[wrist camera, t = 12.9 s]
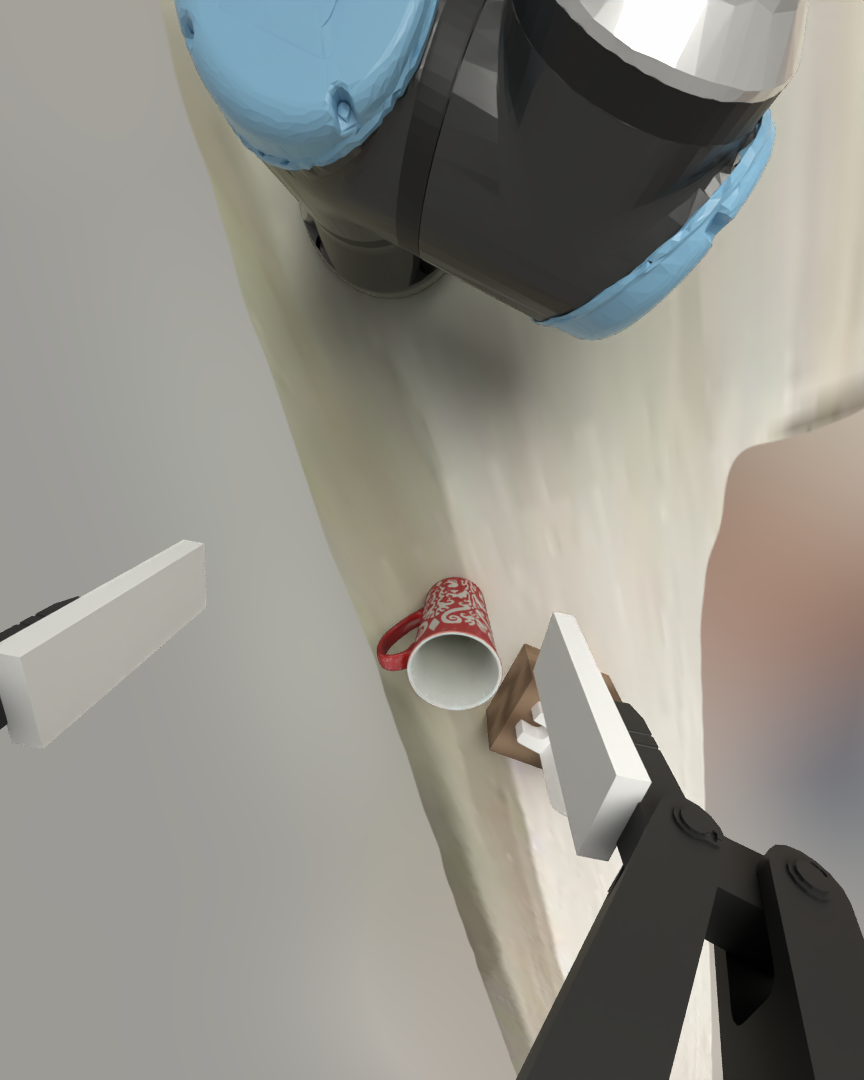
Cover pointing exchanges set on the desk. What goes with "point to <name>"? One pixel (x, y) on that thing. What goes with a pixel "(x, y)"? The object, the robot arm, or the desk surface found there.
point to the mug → (448, 648)
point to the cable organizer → (542, 754)
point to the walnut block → (519, 707)
